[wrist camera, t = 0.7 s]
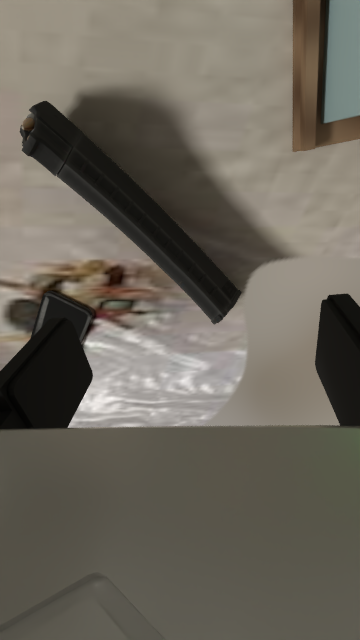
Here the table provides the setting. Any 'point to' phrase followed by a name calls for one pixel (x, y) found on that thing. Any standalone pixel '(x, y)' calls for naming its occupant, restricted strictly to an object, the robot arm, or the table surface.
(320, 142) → the rack
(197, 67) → the table surface
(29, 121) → the magazine
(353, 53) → the panel
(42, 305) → the phone
